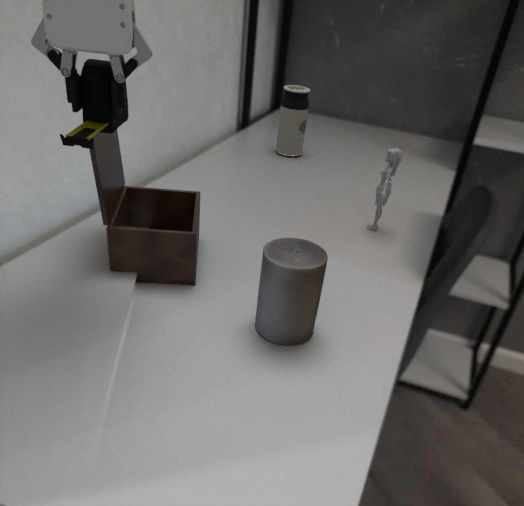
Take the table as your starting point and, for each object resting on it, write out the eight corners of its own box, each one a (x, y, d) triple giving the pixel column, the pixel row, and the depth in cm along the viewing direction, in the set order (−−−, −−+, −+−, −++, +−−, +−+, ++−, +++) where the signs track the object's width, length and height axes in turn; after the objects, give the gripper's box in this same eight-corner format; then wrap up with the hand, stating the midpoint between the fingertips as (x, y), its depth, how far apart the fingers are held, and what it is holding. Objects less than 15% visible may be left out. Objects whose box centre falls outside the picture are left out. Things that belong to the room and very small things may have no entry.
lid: (112, 94, 89) (107, 94, 89) (90, 125, 74) (84, 125, 74) (125, 183, 99) (121, 183, 99) (108, 225, 84) (103, 225, 84)
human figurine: (370, 217, 124) (389, 139, 113) (386, 220, 123) (406, 143, 112) (362, 237, 115) (382, 154, 104) (379, 241, 114) (401, 158, 103)
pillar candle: (317, 318, 88) (333, 236, 78) (308, 352, 80) (325, 265, 71) (261, 306, 89) (271, 224, 80) (247, 338, 81) (256, 251, 72)
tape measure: (101, 116, 75) (96, 54, 70) (131, 120, 75) (128, 58, 70) (61, 146, 64) (51, 73, 59) (96, 150, 64) (89, 78, 59)
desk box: (199, 238, 106) (200, 191, 100) (195, 285, 92) (196, 234, 86) (126, 233, 105) (123, 185, 99) (110, 280, 90) (106, 228, 84)
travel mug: (270, 151, 157) (277, 85, 146) (288, 147, 161) (296, 83, 150) (288, 159, 152) (297, 92, 141) (307, 155, 157) (317, 90, 146)
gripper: (165, -57, 60) (166, 111, 72) (14, -77, 59) (39, 98, 70) (157, -57, 55) (160, 126, 66) (-11, -79, 53) (21, 112, 64)
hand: (98, 110), depth 68 cm, fingers closed on tape measure, 4 cm apart
